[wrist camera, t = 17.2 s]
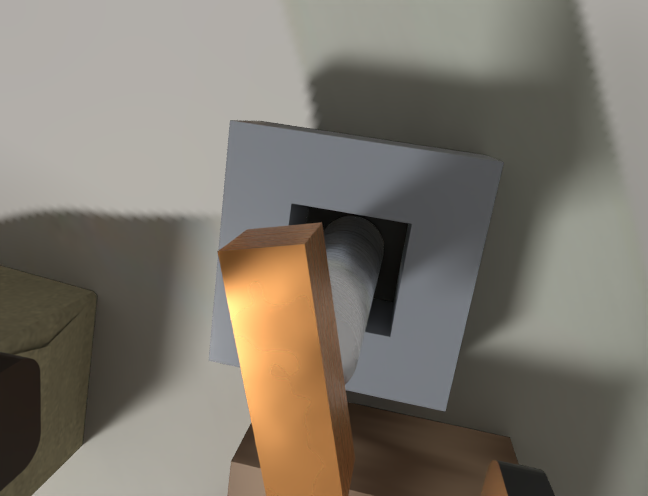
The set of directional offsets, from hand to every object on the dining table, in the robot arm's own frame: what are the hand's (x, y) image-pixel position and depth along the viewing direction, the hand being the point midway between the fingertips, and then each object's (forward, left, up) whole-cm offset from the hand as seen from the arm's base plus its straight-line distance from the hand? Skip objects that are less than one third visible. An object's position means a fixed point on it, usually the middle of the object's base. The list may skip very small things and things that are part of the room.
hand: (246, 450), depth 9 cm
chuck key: (0, 0, -15) cm, 15 cm away
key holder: (0, 0, -15) cm, 15 cm away
